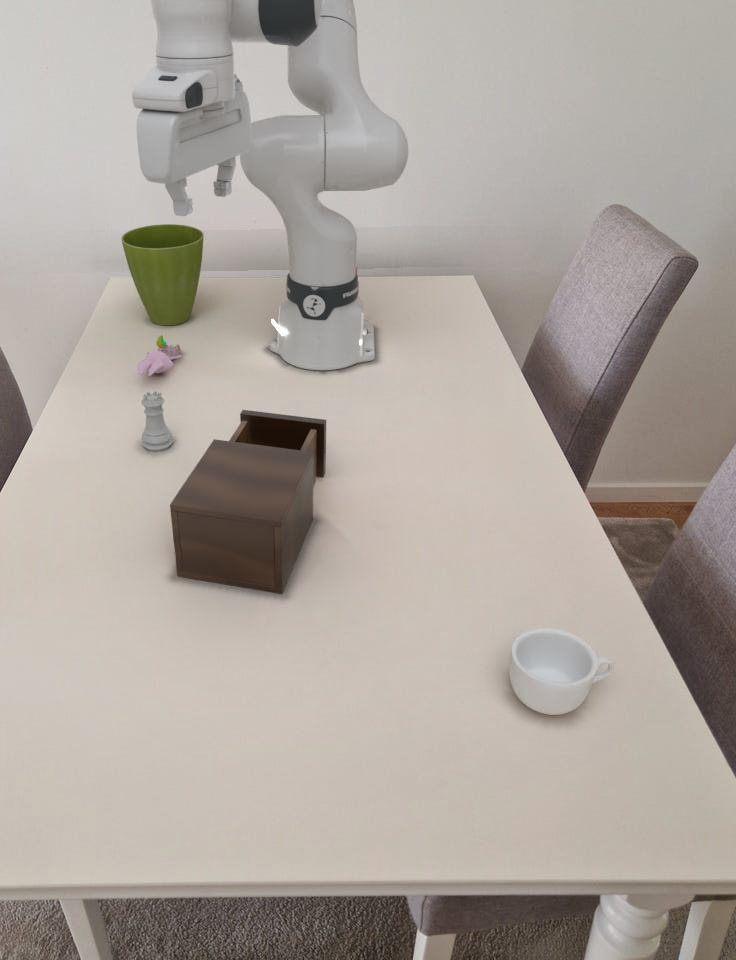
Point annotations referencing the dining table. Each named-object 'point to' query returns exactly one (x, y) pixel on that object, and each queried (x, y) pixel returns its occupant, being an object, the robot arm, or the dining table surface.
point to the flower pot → (165, 269)
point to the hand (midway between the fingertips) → (204, 204)
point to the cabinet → (243, 515)
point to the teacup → (554, 670)
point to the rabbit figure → (159, 358)
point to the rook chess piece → (155, 424)
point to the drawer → (285, 435)
